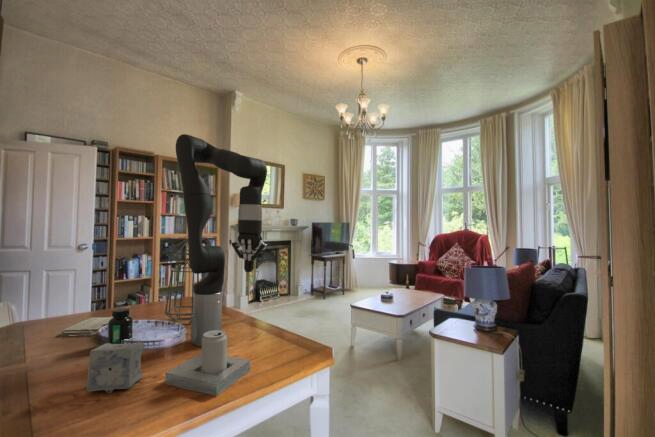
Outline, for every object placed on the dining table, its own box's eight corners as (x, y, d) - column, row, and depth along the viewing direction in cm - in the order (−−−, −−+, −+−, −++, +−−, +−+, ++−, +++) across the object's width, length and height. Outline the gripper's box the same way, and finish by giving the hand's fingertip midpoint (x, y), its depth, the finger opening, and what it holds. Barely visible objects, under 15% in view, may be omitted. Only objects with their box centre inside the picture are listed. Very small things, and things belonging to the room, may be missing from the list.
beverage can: (218, 385, 80) (219, 338, 81) (196, 382, 82) (196, 336, 82) (231, 373, 87) (231, 330, 87) (210, 371, 88) (210, 328, 88)
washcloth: (58, 338, 113) (58, 329, 113) (90, 322, 130) (90, 315, 130) (94, 337, 114) (94, 329, 114) (121, 322, 132) (121, 314, 132)
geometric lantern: (173, 316, 138) (176, 236, 139) (210, 316, 140) (213, 237, 141) (157, 328, 122) (162, 238, 123) (199, 328, 124) (203, 239, 125)
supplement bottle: (118, 351, 101) (118, 313, 101) (102, 348, 103) (103, 311, 104) (137, 343, 108) (137, 308, 108) (122, 340, 110) (122, 306, 110)
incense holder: (143, 376, 85) (144, 337, 85) (129, 393, 77) (130, 350, 77) (103, 379, 83) (104, 339, 83) (84, 396, 75) (85, 352, 75)
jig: (165, 384, 81) (165, 372, 81) (204, 361, 94) (204, 351, 94) (216, 396, 75) (216, 383, 76) (250, 370, 89) (250, 360, 89)
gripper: (226, 218, 102) (224, 271, 102) (261, 219, 97) (260, 275, 97) (240, 218, 109) (239, 268, 109) (273, 219, 104) (272, 271, 104)
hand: (249, 271), depth 103 cm, fingers closed
